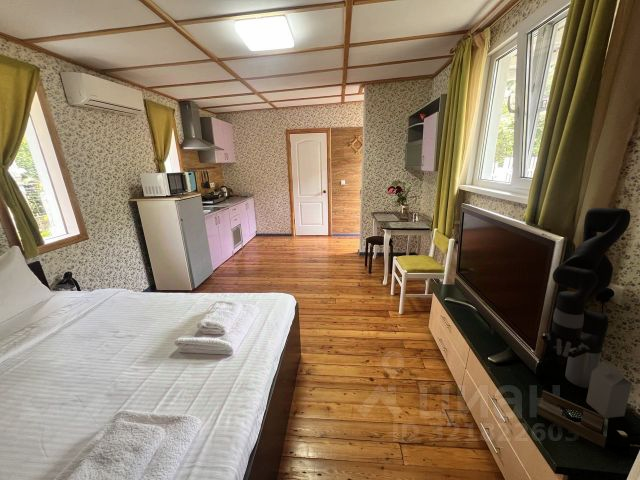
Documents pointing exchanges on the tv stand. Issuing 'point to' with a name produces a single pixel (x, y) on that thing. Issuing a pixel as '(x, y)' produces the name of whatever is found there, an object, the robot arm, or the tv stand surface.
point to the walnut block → (592, 422)
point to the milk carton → (608, 391)
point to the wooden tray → (554, 414)
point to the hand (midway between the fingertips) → (561, 362)
